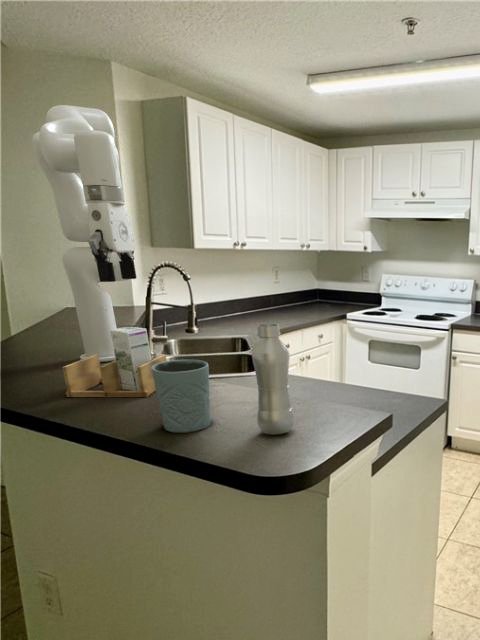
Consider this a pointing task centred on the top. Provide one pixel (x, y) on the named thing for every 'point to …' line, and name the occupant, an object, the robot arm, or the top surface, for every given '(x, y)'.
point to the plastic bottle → (272, 381)
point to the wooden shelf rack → (106, 378)
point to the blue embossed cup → (183, 394)
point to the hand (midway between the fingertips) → (119, 280)
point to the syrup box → (130, 354)
